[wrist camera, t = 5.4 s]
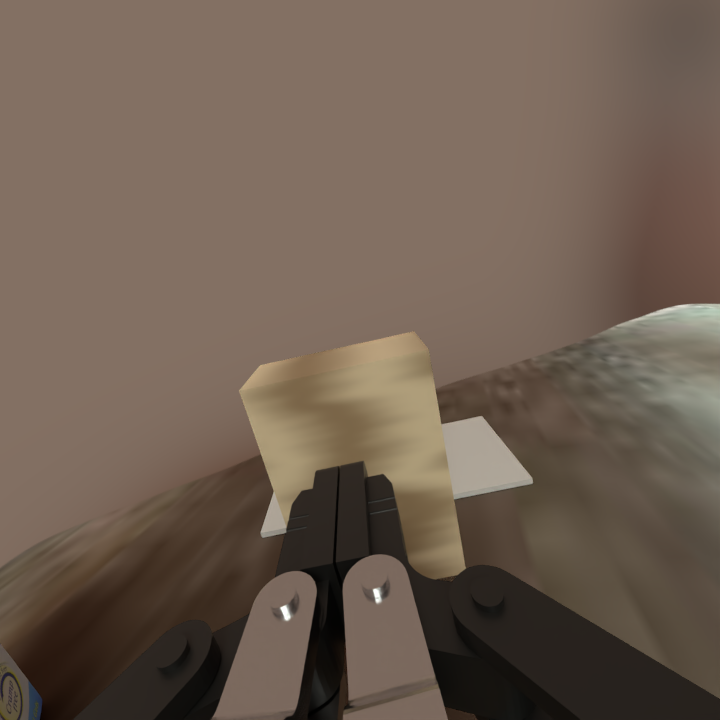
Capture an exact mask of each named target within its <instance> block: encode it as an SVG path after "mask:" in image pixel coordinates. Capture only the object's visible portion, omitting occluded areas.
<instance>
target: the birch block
mask: <svg viewBox="0 0 720 720" xmlns="http://www.w3.org/2000/svg"><path fill="white" fill-rule="evenodd" d="M239 392H240V395H241V398H242V401H243V403H244V406H245V409H246V412H247V415H248V418H249V420H250V423H251V426H252V429H253V432H254V435H255V438H256V441H257V444H258V447H259V449H260V452H261V455H262V458H263V461H264V464H265V467H266V470H267V473H268V475H269V478H270V481H271V484H272V487H273V490H274V493H275V496H276V498H277V501H278V504H279V507H280V510H281V513H282V516H283V519H284V521H285V524H286V527H287V523H288V521H289V515H290V510H291V506H292V503H293V502H294V501H295V499H296V498H297V496H298V495H299V494H300V492H301V491H303V490H308V489H313V483H314V477H315V472H316V470H321V469H326V468H331V467H335V466H341V465H344V464H349V463H354V462H359V461H364V463H365V466H366V470H367V474H368V477H370V476H375V475H380V474H384V475H385V476H386V477H387V478H388V479H389V480H390V482H391V483H392V485H393V489H394V494H395V498H396V502H397V507H398V511H399V515H400V520H401V524H402V529H403V535H404V540H405V545H406V550H407V556H408V561H409V564H410V565H411V566H412V567H413V568H414V569H415V570H416V571H417V572H418V573H420V574H421V575H423V576H425V577H428V578H431V579H439V578H444V577H450V576H455V575H458V574H459V573H460V572H462V571H463V570H465V569H466V567H465V562H464V556H463V550H462V544H461V538H460V532H459V526H458V520H457V514H456V508H455V502H454V497H453V491H452V485H451V479H450V473H449V467H448V461H447V455H446V449H445V443H444V437H443V432H442V426H441V420H440V414H439V408H438V402H437V396H436V390H435V385H434V378H433V372H432V367H431V362H430V355H429V350H428V348H427V347H426V346H425V345H424V343H423V342H422V341H421V340H420V339H419V337H418V336H417V335H416V334H415V332H414V331H413V332H409V333H404V334H400V335H395V336H391V337H387V338H382V339H377V340H373V341H368V342H364V343H359V344H355V345H350V346H345V347H342V348H336V349H332V350H328V351H323V352H318V353H314V354H309V355H305V356H300V357H296V358H291V359H287V360H282V361H278V362H273V363H268V364H264V365H260V366H259V367H258V369H257V370H256V371H255V372H254V373H253V375H252V376H251V377H250V378H249V380H248V381H247V382H246V383H245V384H244V386H243V387H242V388H241V389H240V391H239Z"/></svg>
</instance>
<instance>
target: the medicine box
mask: <svg viewBox="0 0 720 720" xmlns="http://www.w3.org/2000/svg"><path fill="white" fill-rule="evenodd" d="M41 708H42V698H41V697H40V695H39V694H38V692H37V691H36V690H35V688H34V687H33V686H32V684H31V683H30V682H29V680H28V679H27V678H26V676H25V675H24V674H23V673H22V671H21V670H20V669H19V667H18V666H17V664H16V663H15V662H14V660H13V659H12V658H11V657H10V655H9V654H8V653H7V651H6V650H5V649H4V648H3V646H2V645H1V644H0V720H40V715H41Z"/></svg>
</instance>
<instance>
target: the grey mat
mask: <svg viewBox="0 0 720 720" xmlns="http://www.w3.org/2000/svg"><path fill="white" fill-rule="evenodd" d="M441 426H442V432H443V437H444V443H445V449H446V455H447V461H448V467H449V473H450V479H451V485H452V491H453V497H454V499H458V498H463V497H468V496H473V495H478V494H483V493H488V492H493V491H498V490H503V489H508V488H513V487H518V486H523V485H528V484H533V479H532V477H531V476H530V475H529V474H528V472H527V471H526V470H525V469H524V467H523V466H522V465H521V464H520V462H519V461H518V460H517V459H516V457H515V456H514V455H513V454H512V453H511V451H510V450H509V449H508V448H507V446H506V445H505V444H504V443H503V441H502V440H501V439H500V438H499V437H498V435H497V434H496V433H495V432H494V430H493V429H492V428H491V427H490V425H489V424H488V423H487V422H486V420H485V419H484V418H483V417H482V416H480V417H475V418H470V419H465V420H461V421H456V422H451V423H446V424H441ZM286 528H287V527H286V524H285V521H284V519H283V516H282V513H281V510H280V507H279V504H278V501H277V498H276V496H275V493H273V496H272V499H271V502H270V505H269V508H268V512H267V515H266V518H265V521H264V524H263V527H262V530H261V536H262V538H264V537H269V536H274V535H279V534H284V533H286Z"/></svg>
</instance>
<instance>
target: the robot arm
mask: <svg viewBox="0 0 720 720" xmlns="http://www.w3.org/2000/svg"><path fill="white" fill-rule="evenodd" d="M344 642H346V656H347V673H348V691H349V701H348V705H346V690H347V677H346V672H345V669H344ZM345 705H346V706H345ZM444 706H445V707H449V708H453V709H456V710H460V711H464V712H468V713H472V714H475V716H476V718H477V719H478V720H720V699H719V698H717V697H716V696H714V695H712V694H711V693H709V692H707V691H706V690H704V689H702V688H701V687H699V686H697V685H696V684H694V683H692V682H691V681H689V680H687V679H685V678H684V677H682V676H680V675H679V674H677V673H675V672H674V671H672V670H670V669H669V668H667V667H665V666H664V665H662V664H660V663H659V662H657V661H655V660H654V659H652V658H650V657H649V656H647V655H645V654H644V653H642V652H640V651H639V650H637V649H635V648H634V647H632V646H630V645H629V644H627V643H625V642H624V641H622V640H620V639H619V638H617V637H615V636H613V635H612V634H610V633H608V632H607V631H605V630H603V629H602V628H600V627H598V626H597V625H595V624H593V623H592V622H590V621H588V620H587V619H585V618H583V617H582V616H580V615H578V614H577V613H575V612H573V611H572V610H570V609H568V608H567V607H565V606H563V605H562V604H560V603H558V602H557V601H555V600H553V599H552V598H550V597H548V596H547V595H545V594H543V593H542V592H540V591H538V590H536V589H535V588H533V587H531V586H530V585H528V584H526V583H525V582H523V581H521V580H520V579H518V578H516V577H515V576H513V575H511V574H510V573H508V572H506V571H504V570H502V569H500V568H497V567H494V566H489V565H477V566H473V567H469V568H467V569H465V570H463V571H462V572H460V573H459V574H458V575H457V576H456V578H455V579H454V580H453V582H449V581H441V580H435V579H431V578H428V577H425V576H423V575H421V574H420V573H418V572H417V571H416V570H415V569H414V568H413V567H412V566H411V565H410V564H409V561H408V556H407V550H406V545H405V540H404V535H403V529H402V524H401V520H400V515H399V511H398V507H397V502H396V498H395V494H394V489H393V485H392V483H391V482H390V480H389V479H388V478H387V477H386V476H385V475H384V474H380V475H375V476H370V477H368V474H367V470H366V466H365V463H364V461H359V462H354V463H349V464H344V465H341V466H335V467H331V468H326V469H321V470H316V472H315V477H314V483H313V489H308V490H303V491H301V492H300V494H299V495H298V496H297V498H296V499H295V501H294V502H293V503H292V506H291V510H290V515H289V521H288V523H287V528H286V533H285V536H284V541H283V545H282V549H281V554H280V558H279V562H278V567H277V571H276V575H275V578H274V579H272V580H271V581H270V582H269V583H267V584H266V585H265V586H264V588H263V589H262V590H261V591H260V592H259V594H258V596H257V597H256V599H255V601H254V604H253V606H252V609H251V612H250V613H249V614H248V615H246V616H244V617H243V618H241V619H239V620H237V621H235V622H233V623H231V624H230V625H228V626H226V627H224V628H222V629H220V630H218V631H216V632H214V633H212V631H211V629H210V627H209V626H208V624H207V623H205V622H204V621H201V620H189V621H186V622H183V623H181V624H178V625H176V626H175V627H173V628H171V629H170V630H169V631H167V632H166V633H164V634H163V635H162V636H161V637H160V638H159V639H158V640H157V641H156V642H154V643H153V644H152V645H151V646H150V647H149V648H148V649H147V650H146V651H145V652H144V653H143V654H142V655H141V656H140V657H139V658H138V659H136V660H135V661H134V662H133V663H132V664H131V665H130V666H129V667H128V668H127V669H126V670H125V671H124V672H123V673H122V674H121V675H120V676H118V677H117V678H116V679H115V680H114V681H113V682H112V683H111V684H110V685H109V686H108V687H107V688H106V689H105V690H104V691H103V692H102V693H100V694H99V695H98V696H97V697H96V698H95V699H94V700H93V701H92V702H91V703H90V704H89V705H88V706H87V707H86V708H85V709H84V710H82V711H81V712H80V713H79V714H78V715H77V716H76V717H75V718H74V719H73V720H448V718H447V715H446V711H445V707H444Z"/></svg>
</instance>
